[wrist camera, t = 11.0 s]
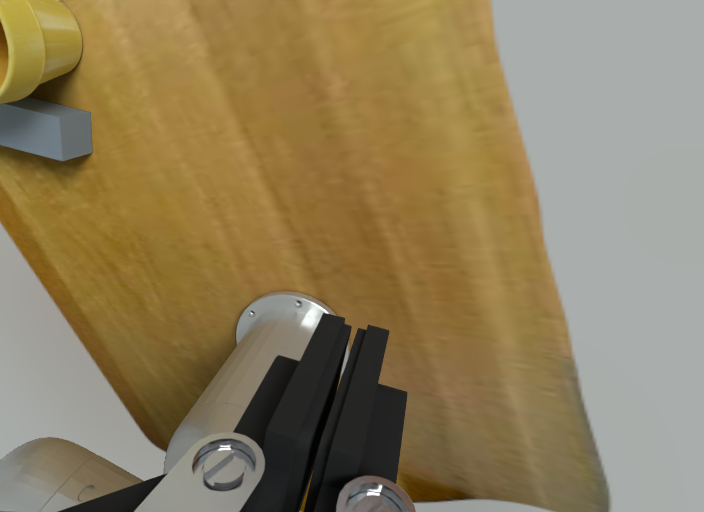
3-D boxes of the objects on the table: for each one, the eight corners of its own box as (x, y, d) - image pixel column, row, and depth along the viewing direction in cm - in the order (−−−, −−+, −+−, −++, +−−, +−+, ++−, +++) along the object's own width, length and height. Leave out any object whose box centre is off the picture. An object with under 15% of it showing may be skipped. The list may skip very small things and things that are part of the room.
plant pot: (38, 109, 46) (-59, 123, 38) (-21, -4, 43) (-143, -18, 34) (121, 76, 43) (37, 83, 35) (65, -48, 40) (-44, -76, 31)
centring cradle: (92, 152, 47) (62, 161, 43) (-15, 125, 48) (-52, 131, 45) (80, -101, 38) (41, -117, 34) (-51, -127, 39) (-101, -145, 36)
